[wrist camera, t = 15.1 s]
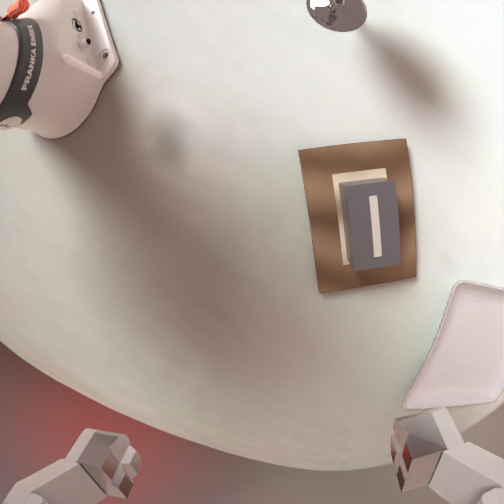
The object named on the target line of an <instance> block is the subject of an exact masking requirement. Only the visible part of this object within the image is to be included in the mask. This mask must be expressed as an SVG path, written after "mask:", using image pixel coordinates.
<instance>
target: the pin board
mask: <svg viewBox="0 0 504 504" xmlns="http://www.w3.org/2000/svg"><path fill="white" fill-rule="evenodd" d="M298 152H299V158H300V164H301V170H302V176H303V182H304V188H305V194H306V201H307V207H308V214H309V221H310V228H311V235H312V243H313V250H314V258H315V266H316V274H317V282H318V289H319V293H325V292H332V291H338V290H344V289H350V288H356V287H362V286H368V285H374V284H380V283H385V282H391V281H396V280H402V279H407V278H412V277H416V235H415V216H414V202H413V191H412V180H411V171H410V163H409V155H408V148H407V141H406V139H394V140H382V141H371V142H361V143H351V144H342V145H334V146H326V147H318V148H311V149H304V150H298ZM374 178H387V179H391V180H395V183H396V193H397V203H398V216H399V231H400V251H401V264H397V265H391V266H385V267H379V268H373V269H367V270H361V271H354V270H353V268H352V266H351V265H350V263H349V262H348V260H347V254H346V244H345V234H344V225H343V216H342V208H341V200H340V193H339V185H338V183H342V182H350V181H358V180H366V179H374Z"/></svg>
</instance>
